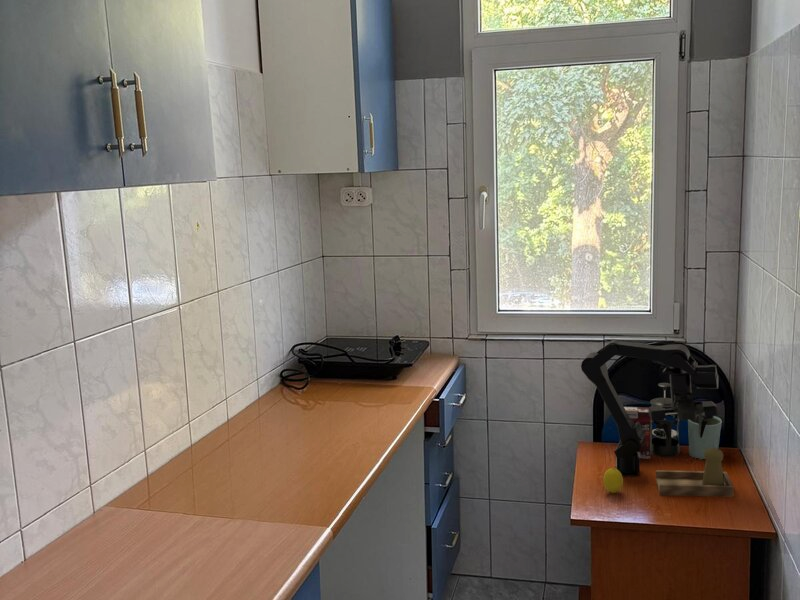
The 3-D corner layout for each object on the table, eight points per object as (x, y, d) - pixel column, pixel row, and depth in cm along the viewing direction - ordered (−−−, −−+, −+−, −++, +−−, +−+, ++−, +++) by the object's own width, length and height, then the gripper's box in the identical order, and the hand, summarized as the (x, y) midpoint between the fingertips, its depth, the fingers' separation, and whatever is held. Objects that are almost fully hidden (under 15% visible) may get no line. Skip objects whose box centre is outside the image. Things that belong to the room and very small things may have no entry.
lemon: (623, 490, 234) (623, 464, 232) (622, 498, 228) (622, 472, 227) (604, 488, 235) (603, 463, 234) (602, 496, 230) (602, 470, 229)
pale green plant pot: (684, 448, 260) (684, 413, 258) (716, 448, 259) (717, 413, 256) (691, 461, 250) (691, 425, 248) (724, 461, 249) (725, 424, 246)
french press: (684, 457, 253) (685, 388, 249) (654, 458, 254) (654, 389, 249) (672, 443, 265) (673, 377, 260) (644, 444, 265) (644, 378, 261)
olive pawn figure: (728, 488, 228) (729, 452, 226) (708, 490, 227) (708, 454, 225) (717, 479, 234) (718, 444, 232) (698, 482, 233) (698, 446, 231)
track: (659, 494, 229) (659, 485, 228) (655, 479, 239) (655, 470, 238) (733, 497, 225) (733, 487, 224) (726, 481, 235) (726, 471, 234)
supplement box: (622, 458, 256) (622, 411, 252) (622, 452, 260) (622, 406, 257) (651, 459, 254) (651, 411, 250) (649, 453, 258) (650, 406, 255)
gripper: (653, 399, 226) (657, 451, 229) (721, 393, 223) (725, 445, 226) (646, 387, 237) (650, 437, 239) (711, 382, 234) (714, 432, 237)
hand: (684, 438), depth 235 cm, fingers open, 9 cm apart
